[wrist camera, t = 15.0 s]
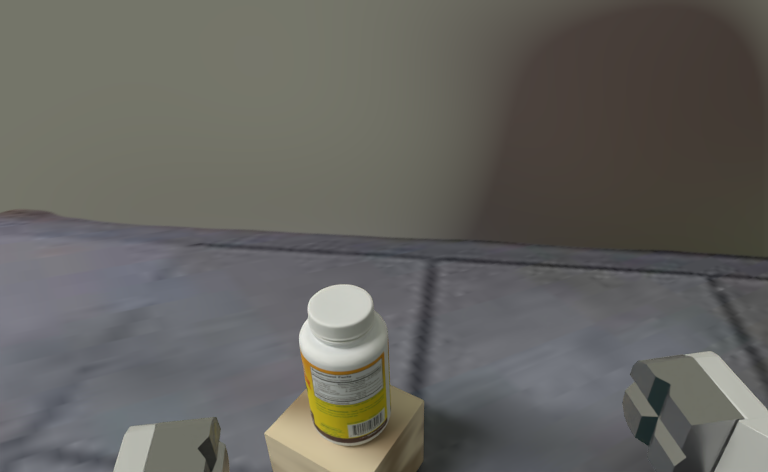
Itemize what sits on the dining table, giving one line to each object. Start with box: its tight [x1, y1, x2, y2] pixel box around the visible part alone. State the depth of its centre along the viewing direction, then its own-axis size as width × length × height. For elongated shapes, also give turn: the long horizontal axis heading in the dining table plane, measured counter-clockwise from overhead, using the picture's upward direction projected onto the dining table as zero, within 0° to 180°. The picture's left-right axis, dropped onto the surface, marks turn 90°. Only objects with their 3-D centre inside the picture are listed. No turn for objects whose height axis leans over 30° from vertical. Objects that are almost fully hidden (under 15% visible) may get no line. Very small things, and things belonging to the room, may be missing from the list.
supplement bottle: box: [299, 285, 391, 446], centre depth 36 cm, size 6×6×10 cm
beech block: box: [264, 385, 424, 472], centre depth 41 cm, size 8×8×7 cm
